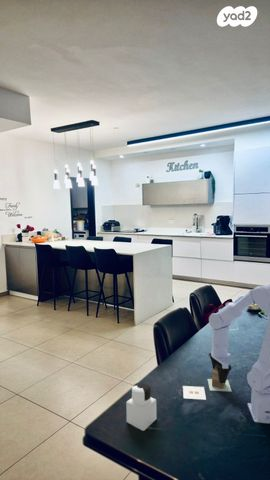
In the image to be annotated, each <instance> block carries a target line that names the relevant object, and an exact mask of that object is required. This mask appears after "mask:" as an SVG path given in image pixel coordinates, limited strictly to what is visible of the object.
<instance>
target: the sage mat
mask: <svg viewBox="0 0 270 480" xmlns="http://www.w3.org/2000/svg"><path fill="white" fill-rule="evenodd" d="M207 383H208V388H209V391H212V392H213V391H214V392H215V391H216V392H233V391H232V389H231V385H230V381H229V379H226V383H225V385H224V387H223V389H220V388H217V387H214V386H212V378H207Z"/></svg>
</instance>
